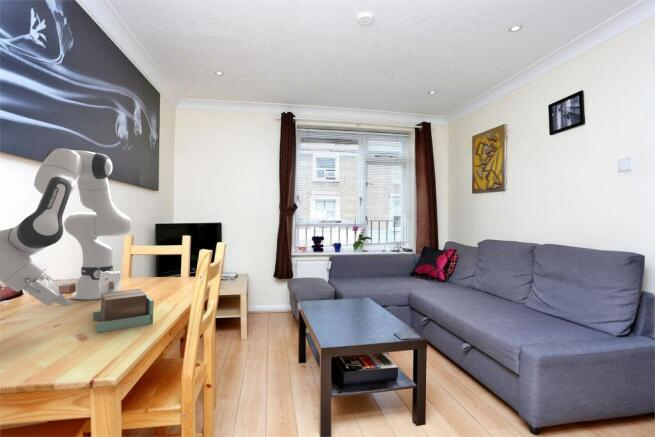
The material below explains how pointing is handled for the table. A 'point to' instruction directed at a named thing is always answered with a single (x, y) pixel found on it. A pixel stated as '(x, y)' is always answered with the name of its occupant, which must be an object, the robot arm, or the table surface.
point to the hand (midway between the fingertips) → (67, 304)
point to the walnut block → (122, 304)
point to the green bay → (126, 319)
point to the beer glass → (109, 282)
